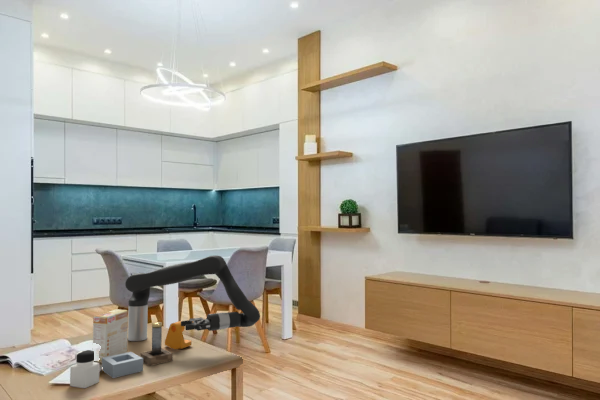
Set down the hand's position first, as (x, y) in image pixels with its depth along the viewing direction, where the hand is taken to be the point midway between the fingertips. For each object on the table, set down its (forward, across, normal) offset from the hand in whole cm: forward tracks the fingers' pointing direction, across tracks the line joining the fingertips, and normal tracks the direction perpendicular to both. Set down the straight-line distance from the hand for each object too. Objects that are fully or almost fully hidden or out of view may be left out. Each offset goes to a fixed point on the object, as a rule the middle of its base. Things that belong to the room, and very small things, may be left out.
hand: (183, 325), depth 199 cm
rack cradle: (+26, +7, +13) cm, 30 cm away
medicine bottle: (+40, +16, +14) cm, 45 cm away
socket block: (+12, 0, +14) cm, 18 cm away
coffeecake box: (+29, -14, +13) cm, 35 cm away
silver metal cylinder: (+12, 0, +14) cm, 18 cm away
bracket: (-2, -16, +14) cm, 21 cm away
